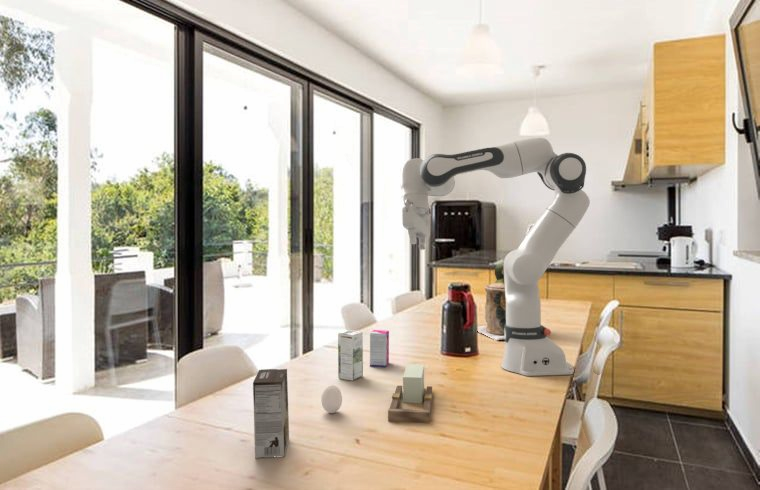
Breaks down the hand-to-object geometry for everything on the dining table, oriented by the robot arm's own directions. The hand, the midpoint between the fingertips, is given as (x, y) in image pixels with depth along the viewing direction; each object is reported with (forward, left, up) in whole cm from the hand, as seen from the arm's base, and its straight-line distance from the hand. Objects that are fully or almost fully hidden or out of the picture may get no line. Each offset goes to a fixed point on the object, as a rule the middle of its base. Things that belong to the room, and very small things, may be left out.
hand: (418, 246), depth 159 cm
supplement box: (+14, -5, -41) cm, 44 cm away
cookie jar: (-35, -57, -41) cm, 78 cm away
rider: (0, +24, -41) cm, 47 cm away
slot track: (0, +32, -41) cm, 52 cm away
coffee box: (+28, +60, -41) cm, 78 cm away
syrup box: (+21, +10, -41) cm, 47 cm away
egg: (+20, +39, -41) cm, 60 cm away
